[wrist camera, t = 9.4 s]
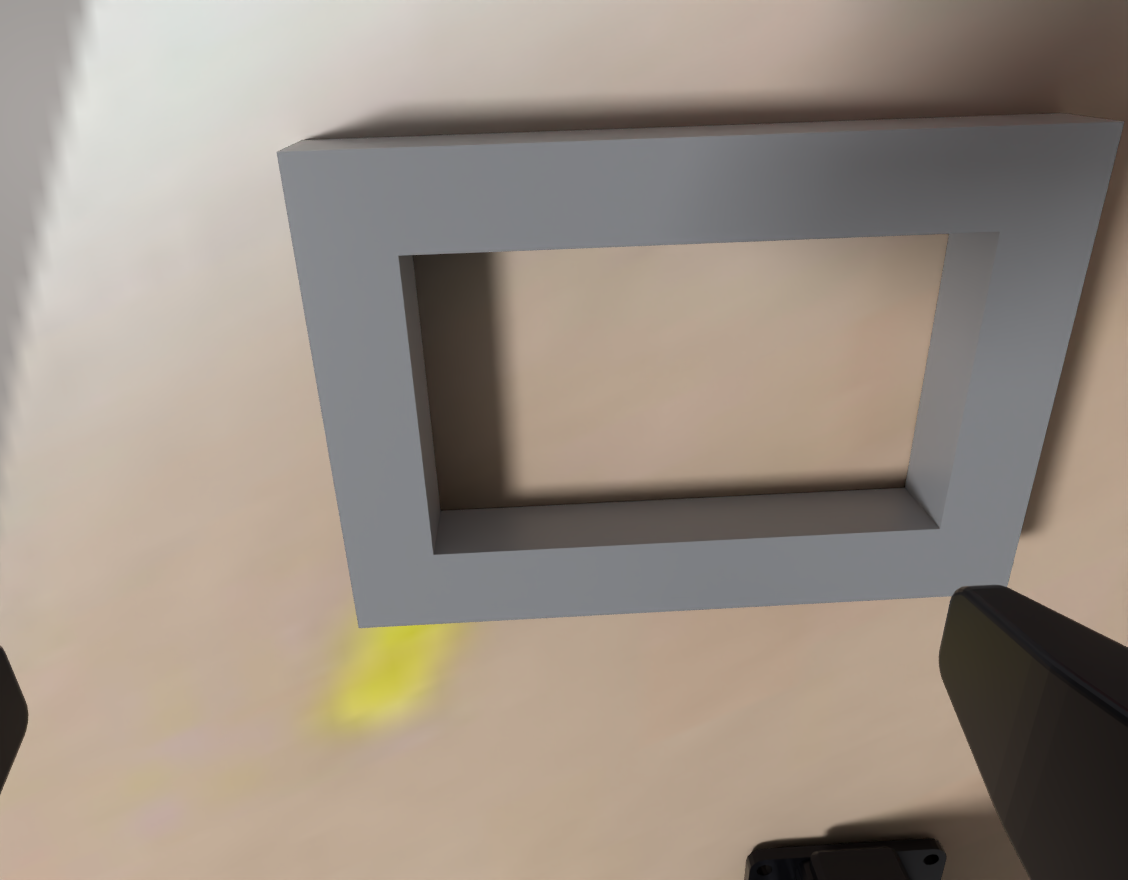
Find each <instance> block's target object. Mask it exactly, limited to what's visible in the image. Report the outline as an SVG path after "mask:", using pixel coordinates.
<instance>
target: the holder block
mask: <svg viewBox="0 0 1128 880" xmlns="http://www.w3.org/2000/svg"><path fill="white" fill-rule="evenodd" d="M1123 125H1124V121H1118V120H1110V119H1103V118H1095V117H1088V116H1081V115H1073V114H1066V113H1048V114H1020V115H992V116H963V117H935V118H907V119H879V120H851V121H823V122H795V123H767V124H738V125H710V126H682V127H654V128H626V129H598V130H570V131H542V132H514V133H485V134H457V135H429V136H401V137H373V138H345V139H317V140H301V141H299V142H297V143H295V144H293V145H290V146H288V147H286V148H284V149H282V150H280V151H278V152H277V157H278V163H279V169H280V174H281V180H282V186H283V192H284V198H285V203H286V209H287V215H288V221H289V227H290V232H291V238H292V244H293V250H294V256H295V261H296V267H297V273H298V279H299V284H300V290H301V296H302V302H303V308H304V313H305V319H306V325H307V331H308V337H309V342H310V348H311V354H312V360H313V366H314V371H315V377H316V383H317V389H318V394H319V400H320V406H321V412H322V418H323V423H324V429H325V435H326V441H327V447H328V452H329V458H330V464H331V470H332V475H333V481H334V487H335V493H336V499H337V504H338V510H339V516H340V522H341V528H342V533H343V539H344V545H345V551H346V557H347V562H348V568H349V574H350V580H351V585H352V591H353V597H354V603H355V609H356V614H357V620H358V626H359V628H370V627H388V626H407V625H425V624H444V623H462V622H481V621H499V620H518V619H536V618H555V617H573V616H592V615H610V614H629V613H647V612H666V611H685V610H703V609H722V608H740V607H759V606H777V605H796V604H814V603H833V602H851V601H870V600H888V599H907V598H925V597H944V596H952V595H953V594H954V592H955V591H956V590H957V589H959V588H960V587H963V586H976V585H1002V586H1005V587H1007V585H1008V581H1009V577H1010V573H1011V569H1012V565H1013V561H1014V557H1015V553H1016V549H1017V545H1018V541H1019V537H1020V534H1021V530H1022V526H1023V522H1024V518H1025V514H1026V510H1027V506H1028V502H1029V498H1030V494H1031V490H1032V486H1033V482H1034V478H1035V474H1036V470H1037V466H1038V462H1039V458H1040V454H1041V450H1042V446H1043V442H1044V438H1045V434H1046V430H1047V426H1048V423H1049V419H1050V415H1051V411H1052V407H1053V403H1054V399H1055V395H1056V391H1057V387H1058V383H1059V379H1060V375H1061V371H1062V367H1063V363H1064V359H1065V355H1066V351H1067V347H1068V343H1069V339H1070V335H1071V331H1072V327H1073V323H1074V319H1075V315H1076V312H1077V308H1078V304H1079V300H1080V296H1081V292H1082V288H1083V284H1084V280H1085V276H1086V272H1087V268H1088V264H1089V260H1090V256H1091V252H1092V248H1093V244H1094V240H1095V236H1096V232H1097V228H1098V224H1099V220H1100V216H1101V212H1102V208H1103V204H1104V201H1105V197H1106V193H1107V189H1108V185H1109V181H1110V177H1111V173H1112V169H1113V165H1114V161H1115V157H1116V153H1117V149H1118V145H1119V141H1120V137H1121V133H1122V129H1123ZM926 234H949V238H948V243H947V249H946V255H945V260H944V266H943V272H942V278H941V283H940V289H939V295H938V301H937V306H936V312H935V318H934V323H933V329H932V335H931V341H930V346H929V352H928V358H927V363H926V369H925V375H924V381H923V386H922V392H921V398H920V404H919V409H918V415H917V421H916V426H915V432H914V438H913V444H912V449H911V455H910V461H909V467H908V472H907V478H906V484H905V488H889V489H869V490H849V491H829V492H809V493H789V494H769V495H748V496H728V497H708V498H688V499H668V500H648V501H628V502H608V503H588V504H567V505H547V506H527V507H507V508H487V509H467V510H447V511H441V509H440V500H439V491H438V481H437V472H436V463H435V454H434V445H433V436H432V427H431V418H430V408H429V399H428V390H427V381H426V372H425V363H424V354H423V345H422V335H421V326H420V317H419V308H418V299H417V290H416V281H415V272H414V262H413V255H427V254H452V253H477V252H502V251H526V250H551V249H576V248H601V247H626V246H651V245H676V244H701V243H726V242H751V241H776V240H801V239H826V238H851V237H876V236H901V235H926Z"/></svg>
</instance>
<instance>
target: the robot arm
mask: <svg viewBox="0 0 1128 880" xmlns="http://www.w3.org/2000/svg"><path fill="white" fill-rule="evenodd" d="M939 668H940V673H941V677H942V680H943V683H944V685H945V688H946V690H947V693H948V695H949V697H950V700H951V702H952V705H953V707H954V710H955V712H956V715H957V717H958V720H959V722H960V724H961V727H962V729H963V732H964V734H965V737H966V739H967V742H968V744H969V746H970V749H971V751H972V754H973V756H974V759H975V761H976V764H977V766H978V769H979V771H980V773H981V776H982V778H983V781H984V783H985V786H986V788H987V791H988V793H989V796H990V798H991V800H992V803H993V805H994V807H995V810H996V812H997V814H998V816H999V819H1000V821H1001V823H1002V825H1003V827H1004V829H1005V831H1006V833H1007V835H1008V837H1009V839H1010V841H1011V843H1012V845H1013V847H1014V849H1015V851H1016V853H1017V855H1018V857H1019V859H1020V861H1021V863H1022V864H1023V866H1024V868H1025V870H1026V872H1027V874H1028V876H1029V878H1030V879H1031V880H1128V647H1126V646H1124V645H1122V644H1120V643H1118V642H1116V641H1114V640H1112V639H1110V638H1108V637H1106V636H1104V635H1102V634H1100V633H1098V632H1096V631H1094V630H1092V629H1090V628H1088V627H1086V626H1084V625H1082V624H1080V623H1078V622H1076V621H1074V620H1072V619H1070V618H1068V617H1066V616H1064V615H1062V614H1060V613H1058V612H1056V611H1054V610H1052V609H1050V608H1048V607H1046V606H1044V605H1042V604H1040V603H1038V602H1036V601H1034V600H1032V599H1030V598H1028V597H1026V596H1024V595H1022V594H1020V593H1018V592H1016V591H1014V590H1012V589H1010V588H1008V587H1005V586H1002V585H976V586H963V587H960V588H959V589H957V590H956V591H955V592H954V594H953V595H952V597H951V600H950V604H949V609H948V614H947V618H946V623H945V627H944V632H943V637H942V641H941V646H940V650H939ZM27 724H28V708H27V704H26V701H25V698H24V696H23V694H22V691H21V689H20V686H19V684H18V682H17V679H16V677H15V674H14V672H13V670H12V667H11V665H10V662H9V660H8V658H7V655H6V653H5V651H4V649H3V648H2V647H1V646H0V794H1V791H2V789H3V786H4V784H5V782H6V779H7V777H8V774H9V772H10V770H11V767H12V765H13V762H14V760H15V757H16V755H17V753H18V750H19V748H20V745H21V743H22V740H23V738H24V736H25V732H26V729H27ZM945 862H946V853H945V852H944V850H943V848H942V846H941V844H940V843H939V841H937V840H935V839H929V838H928V839H912V840H896V841H880V842H864V843H849V844H833V845H817V846H801V847H785V848H770V849H760V850H756V851H754V852H752V853H751V854H750V855H749V856H748V857H747V860H746V868H745V878H744V880H941V877H942V873H943V870H944V866H945Z"/></svg>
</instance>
